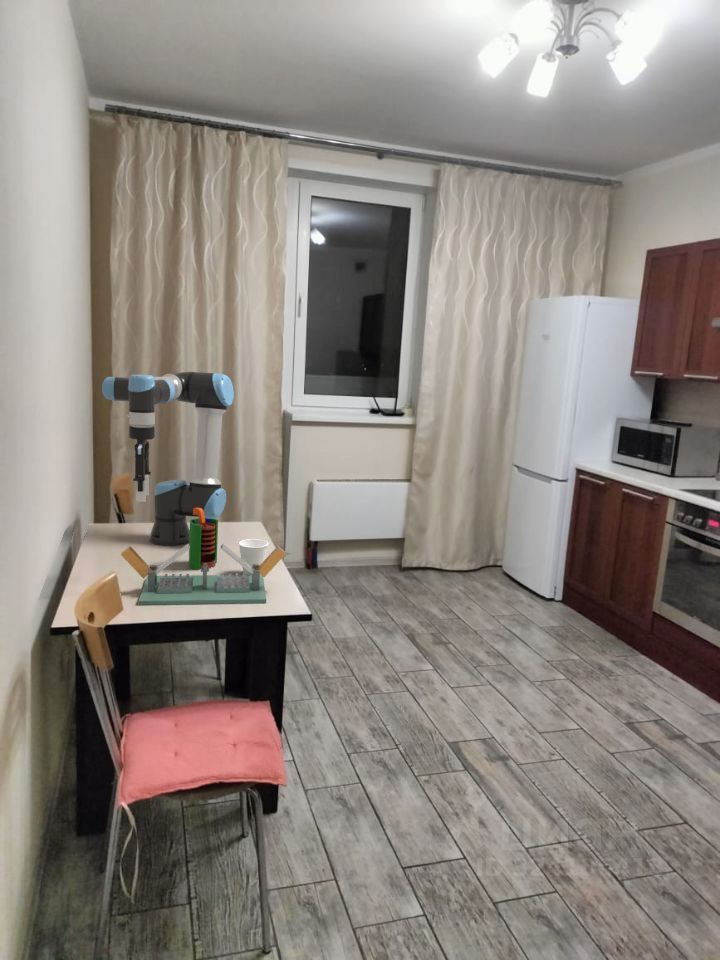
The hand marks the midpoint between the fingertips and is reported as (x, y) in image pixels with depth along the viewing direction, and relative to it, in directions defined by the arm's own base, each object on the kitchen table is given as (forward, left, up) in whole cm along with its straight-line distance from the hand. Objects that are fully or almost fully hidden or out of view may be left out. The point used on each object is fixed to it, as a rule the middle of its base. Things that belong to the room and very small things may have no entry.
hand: (142, 498), depth 217 cm
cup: (-5, +35, -27) cm, 45 cm away
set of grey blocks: (+10, +20, -26) cm, 34 cm away
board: (+10, +20, -27) cm, 35 cm away
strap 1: (+10, +9, -19) cm, 23 cm away
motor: (-15, +18, -27) cm, 36 cm away
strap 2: (+10, +30, -19) cm, 37 cm away
